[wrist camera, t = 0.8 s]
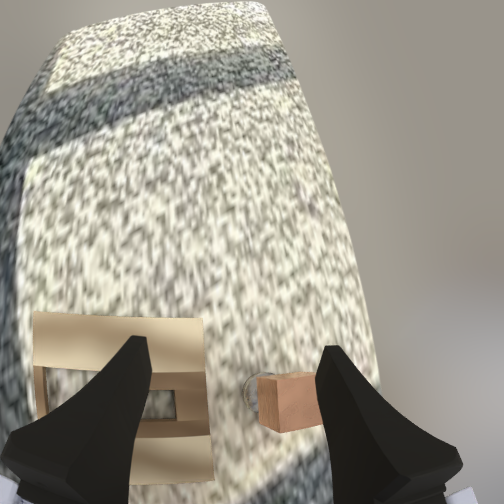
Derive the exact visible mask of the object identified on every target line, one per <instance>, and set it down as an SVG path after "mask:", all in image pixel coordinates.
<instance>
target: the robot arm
mask: <svg viewBox="0 0 504 504" xmlns="http://www.w3.org/2000/svg"><path fill="white" fill-rule="evenodd" d="M151 376H152V366H151V360H150V355H149V350H148V344H147V338H146V337H145V336H137V335H132V336H130V337H129V339H128V340H127V341H126V342H125V343H124V345H123V346H122V347H121V348H120V349H119V350H118V352H117V353H116V354H115V355H114V356H113V357H112V359H111V360H110V361H109V362H108V363H107V364H106V365H105V366H104V367H103V368H102V370H101V371H100V372H99V373H98V374H97V375H96V376H95V377H94V378H93V379H92V380H91V381H90V382H89V383H88V384H86V385H85V386H84V387H83V388H82V389H81V390H80V391H79V392H77V393H76V394H75V395H74V396H73V397H71V398H70V399H69V400H67V401H66V402H65V403H63V404H62V405H61V406H59V407H58V408H56V409H55V410H53V411H52V412H50V413H48V414H47V415H45V416H43V417H42V418H40V419H38V420H36V421H35V422H33V423H31V424H28V425H26V426H24V427H22V428H19V429H17V430H15V431H12V432H11V434H10V436H9V437H8V440H7V442H6V444H5V447H4V449H3V452H2V454H1V457H0V458H1V460H2V462H3V463H4V464H5V465H6V466H7V467H8V468H9V469H10V470H11V471H12V472H13V473H14V474H16V475H17V476H18V477H19V478H20V479H21V481H20V484H17V483H16V482H14V481H12V480H11V479H9V478H7V477H5V476H3V475H1V474H0V504H128V495H129V481H130V471H131V463H132V455H133V449H134V442H135V438H136V434H137V430H138V427H139V423H140V420H141V416H142V413H143V410H144V406H145V403H146V400H147V396H148V393H149V388H150V382H151ZM315 386H316V395H317V401H318V405H319V409H320V413H321V417H322V421H323V425H324V429H325V433H326V437H327V441H328V446H329V452H330V460H331V470H332V482H333V501H334V504H478V502H477V500H476V497H475V494H474V492H473V489H472V487H471V486H469V487H467V488H464V489H462V490H460V491H458V492H455V493H453V494H451V495H449V496H447V497H444V494H443V492H445V491H446V486H445V483H446V482H447V481H448V480H449V479H451V478H452V477H453V476H455V475H456V474H457V473H458V472H459V471H460V470H461V468H462V467H463V463H462V460H461V458H460V455H459V453H458V451H457V449H456V447H454V446H452V445H450V444H448V443H445V442H444V441H442V440H439V439H437V438H436V437H434V436H432V435H430V434H429V433H427V432H426V431H424V430H422V429H421V428H419V427H418V426H416V425H415V424H414V423H412V422H411V421H409V420H408V419H407V418H405V417H404V416H403V415H402V414H400V413H399V412H398V411H397V410H396V409H394V408H393V407H392V406H391V405H390V404H389V403H388V402H387V401H386V400H385V399H384V398H383V397H382V396H381V395H380V394H379V393H378V392H377V391H376V390H375V389H374V388H373V387H372V385H371V384H370V383H369V382H368V381H367V380H366V378H365V377H364V376H363V375H362V374H361V373H360V371H359V370H358V369H357V368H356V366H355V365H354V364H353V363H352V361H351V360H350V359H349V357H348V356H347V355H346V354H345V352H344V351H343V350H342V348H341V347H340V346H339V345H334V346H325V347H324V351H323V354H322V357H321V360H320V363H319V366H318V369H317V373H316V376H315Z"/></svg>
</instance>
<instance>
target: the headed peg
mask: <svg viewBox="0 0 504 504" xmlns="http://www.w3.org/2000/svg"><path fill="white" fill-rule="evenodd" d="M315 376H316V373H314V372H295V373H287V374H278V375H275V374H272V373H265V372H261V373H257V374H254V375H252V376H251V377H250V378H249V379H248V380H247V381H246V383H245V384H244V387H243V391H242V396H243V400H244V403H245V404H246V406H247V407H248V408H249V409H251V410H253V411H255V412H257V413H259V423H260V424H262V425H264V426H266V427H268V428H270V429H272V430H274V431H276V432H278V433H285V432H290V431H295V430H299V429H304V428H309V427H313V426H317V425H321V424H323V421H322V417H321V413H320V409H319V405H318V401H317V395H316V386H315Z"/></svg>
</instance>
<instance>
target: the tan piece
mask: <svg viewBox="0 0 504 504" xmlns="http://www.w3.org/2000/svg"><path fill="white" fill-rule="evenodd" d="M132 335H137V336H145V337H146V338H147V344H148V350H149V355H150V360H151V366H152V376H151V382H150V388H149V390H174V400H175V413H176V419H141V420H140V423H139V427H138V430H137V434H136V438H135V442H134V449H133V455H132V463H131V471H130V481H129V485H158V484H179V483H193V482H203V481H213V480H215V478H214V469H213V460H212V449H211V439H210V428H209V416H208V403H207V389H206V374H205V357H204V338H203V318H151V317H119V316H97V315H79V314H64V313H51V312H38V311H34V312H33V367H34V384H35V397H36V407H37V416H38V419H40V418H42V417H43V416H45V415H47V414H48V413H49V405H48V394H47V381H46V367H53V368H64V369H76V370H91V371H101V370H102V368H103V367H104V366H105V365H106V364H107V363H108V362H109V361H110V360H111V359H112V357H113V356H114V355H115V354H116V353H117V352H118V350H119V349H120V348H121V347H122V346H123V345H124V343H125V342H126V341H127V340H128V339H129V337H130V336H132Z"/></svg>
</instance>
